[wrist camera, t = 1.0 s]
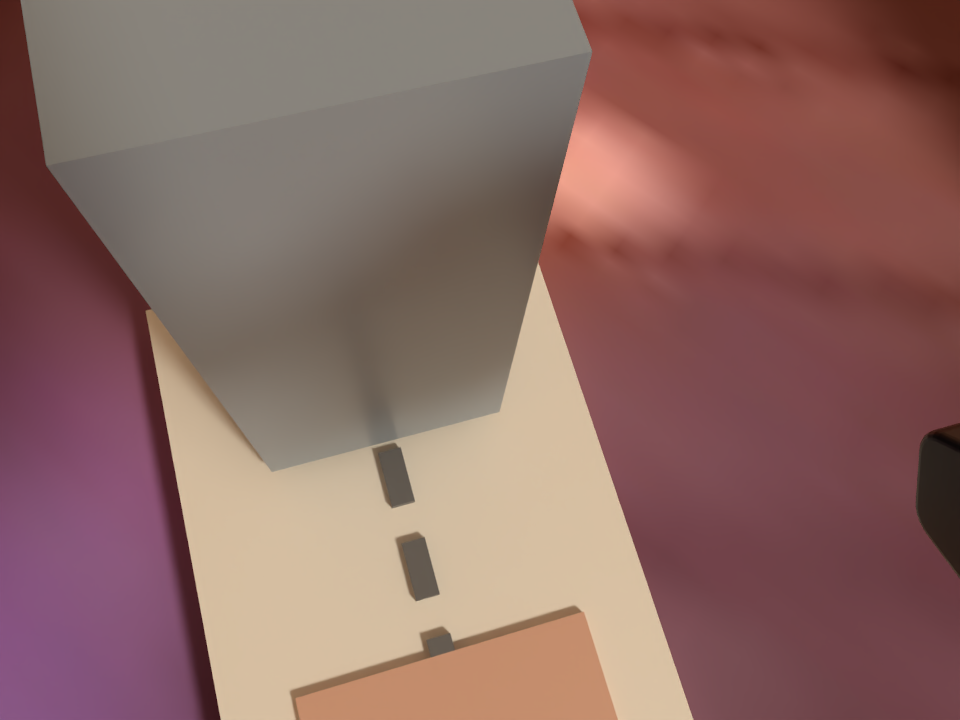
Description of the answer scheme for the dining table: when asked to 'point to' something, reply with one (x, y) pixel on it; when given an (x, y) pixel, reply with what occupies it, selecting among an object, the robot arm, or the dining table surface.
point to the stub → (319, 192)
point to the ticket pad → (422, 561)
